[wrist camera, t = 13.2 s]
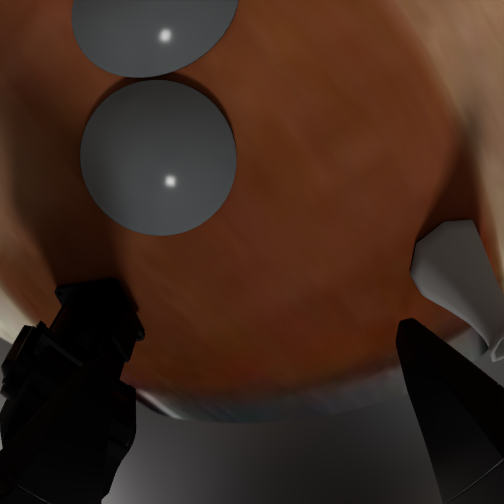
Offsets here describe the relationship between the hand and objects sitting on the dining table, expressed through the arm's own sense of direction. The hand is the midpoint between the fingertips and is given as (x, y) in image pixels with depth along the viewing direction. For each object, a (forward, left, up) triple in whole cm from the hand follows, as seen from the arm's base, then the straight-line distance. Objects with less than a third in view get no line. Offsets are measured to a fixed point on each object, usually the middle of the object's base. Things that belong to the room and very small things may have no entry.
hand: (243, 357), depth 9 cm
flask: (+15, -8, -13) cm, 22 cm away
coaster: (-5, +3, -13) cm, 14 cm away
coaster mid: (-3, +13, -13) cm, 19 cm away
